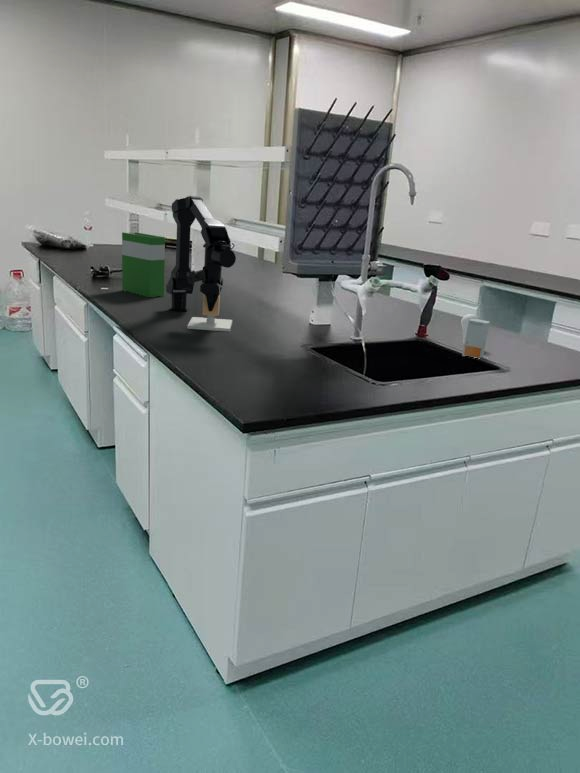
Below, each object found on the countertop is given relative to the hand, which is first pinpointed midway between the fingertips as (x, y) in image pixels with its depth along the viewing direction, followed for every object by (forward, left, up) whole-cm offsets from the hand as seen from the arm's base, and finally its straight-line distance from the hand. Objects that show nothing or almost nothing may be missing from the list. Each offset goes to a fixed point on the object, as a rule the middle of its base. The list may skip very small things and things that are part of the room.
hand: (211, 309), depth 202 cm
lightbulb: (+1, +89, -6) cm, 89 cm away
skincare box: (+17, +86, -6) cm, 88 cm away
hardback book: (-51, -33, -6) cm, 61 cm away
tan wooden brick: (0, 0, -2) cm, 2 cm away
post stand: (0, 0, -6) cm, 6 cm away
